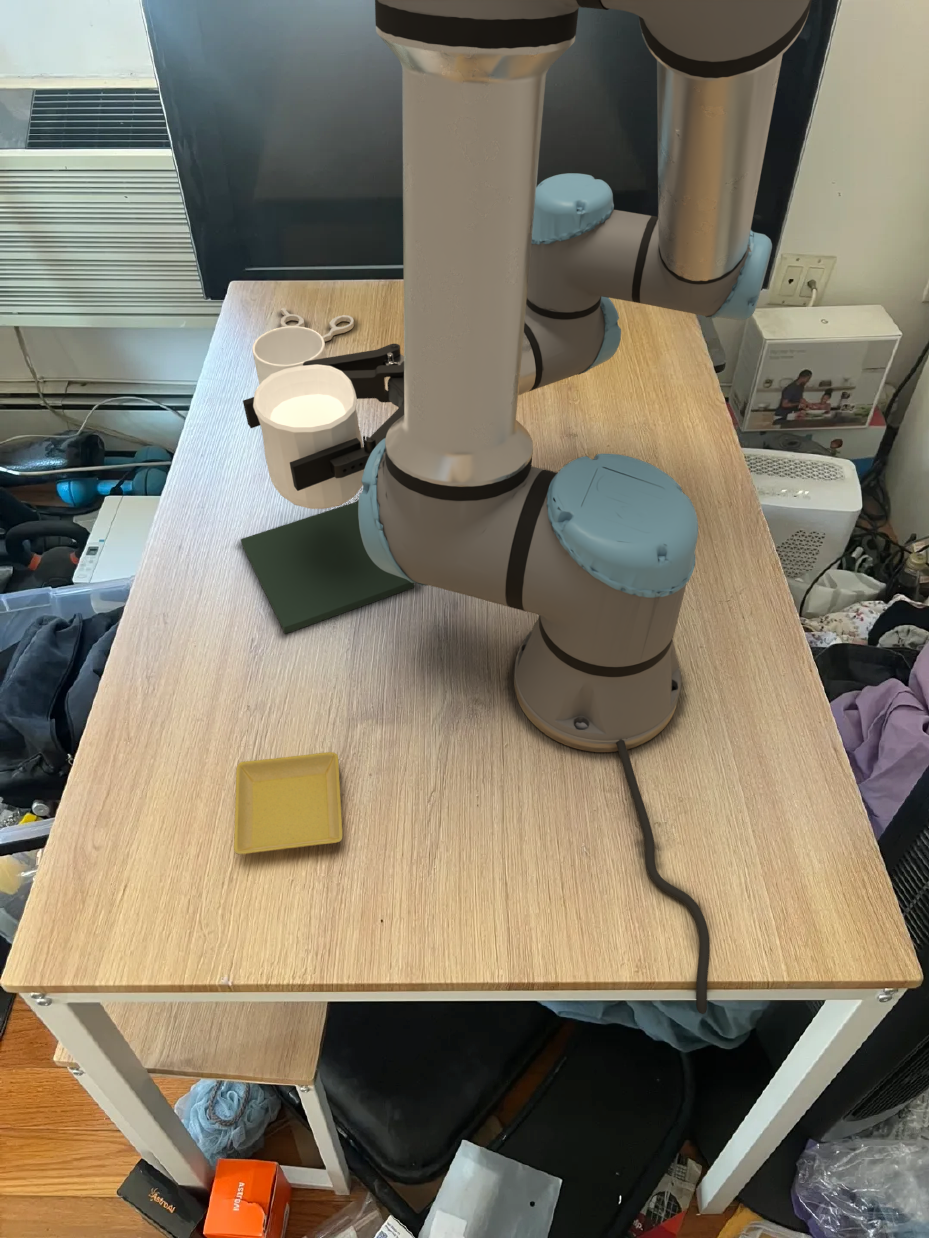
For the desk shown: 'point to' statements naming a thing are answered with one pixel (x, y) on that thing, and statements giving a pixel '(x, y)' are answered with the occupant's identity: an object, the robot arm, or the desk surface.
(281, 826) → the saucer
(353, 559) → the cup mat
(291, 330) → the mug
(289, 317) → the scissors
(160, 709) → the desk surface
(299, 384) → the cup
